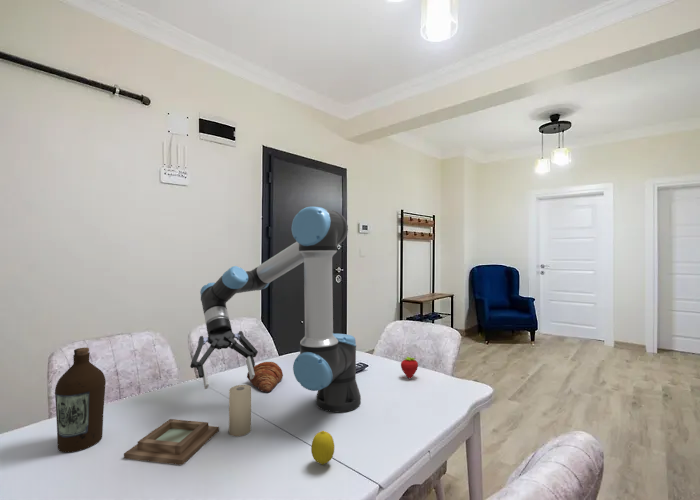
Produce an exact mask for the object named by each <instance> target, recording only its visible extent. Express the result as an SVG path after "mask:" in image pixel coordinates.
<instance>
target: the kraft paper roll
mask: <svg viewBox="0 0 700 500" xmlns="http://www.w3.org/2000/svg"><path fill="white" fill-rule="evenodd" d="M228 391H229V392H228V394H229V395H228V396H229V397H228V400H229V401H228V411H229V413H228V435H230V436H231V437H237V438H238V437H243V436H246V435H248V434H250V433H251V431H252V386H251V385H249V384H239V385H234V386H231V387H230V388H229V389H228Z"/></svg>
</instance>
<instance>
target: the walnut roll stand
mask: <svg viewBox="0 0 700 500" xmlns="http://www.w3.org/2000/svg"><path fill="white" fill-rule="evenodd" d="M219 431H220V426H215V425H209V422H208V421H198V420H197V421H196V420H186V419H185V420H184V419H176V418H175V419H174V418H170V419H168V420H166V421H165V422H164V423H162V424H161V425H159V426H158V427H156V428H155V429H154V430H152V431H150V432H149V433H148V434H146V435H145V436H144V437H142V438H140V439H139V440H138V441H137V442H136V444H135V445H134V446H133V447H131V448H129V449H128V450H127V451H126V452H124V453H123V459H125V460H133V461H134V460H136V461H141V462H142V461H144V462H152V463H161V464H171V465H176V466H177V465H178V466H183V465H185V464H186V462H188V461H189V460H190V459H191V458H192V457H193V456H194V455H195V454H196V453H197V452H199V450H200V449H202V447H204V445H206V444H207V443H208V441H210V440H211V439H212V438H213V437H214V436H215V435H216V434H217V433H218V432H219Z"/></svg>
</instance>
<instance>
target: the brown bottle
mask: <svg viewBox="0 0 700 500" xmlns="http://www.w3.org/2000/svg"><path fill="white" fill-rule="evenodd" d="M73 353H74V354H73V359H72V360H73V364H72V365H71V366H70V367H69V368H68V369H67V370H66V371H65V372H64V373H63V374H62V375H61V376H60V378H59V379H58V380H57V382H56V385H55V387H54V389H55V390H54V397H55V412H56V413H55V415H56V433H57V436H56V439H57V440H56V441H57V445H56V446H57V450H58V451H59V452H61V453H66V454H67V453H75V452H79V451H83V450H86V449H88V448H91V447H93V446H95V445H96V444H98V443H99V442H100V441H101V440H102V439H103V431H104V429H103V428H104V411H105V406H104V405H105V398H106V397H105V396H106V395H105V394H106V382H107V381H106V376H105V375H104V372H103V371H102V370H101V369H100V368H99V367H97V366H95V365H94V364H93V363H91V362H90V348H89V347H79V348H75V349H74V350H73Z"/></svg>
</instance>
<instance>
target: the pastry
mask: <svg viewBox="0 0 700 500" xmlns="http://www.w3.org/2000/svg"><path fill="white" fill-rule="evenodd" d="M253 369H254V373H255V376H254V378H253V379H251V380H250V376H249V372H247V375H246V379H248V381H249V382H250V384H251V385H252V386H253V387H255V388H257V389H258V390H259V391H260V392H263V393H271V392H272V391H273V389H275V387H276V386H277V385H278V384H279V383H280V382H281V381H282V380H283V377H284V374H283V370H282V368H281V367H280V366H279V364H278V363H276V362H274V361H263V362H259V363H258V364H255V366H254V368H253Z"/></svg>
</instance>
